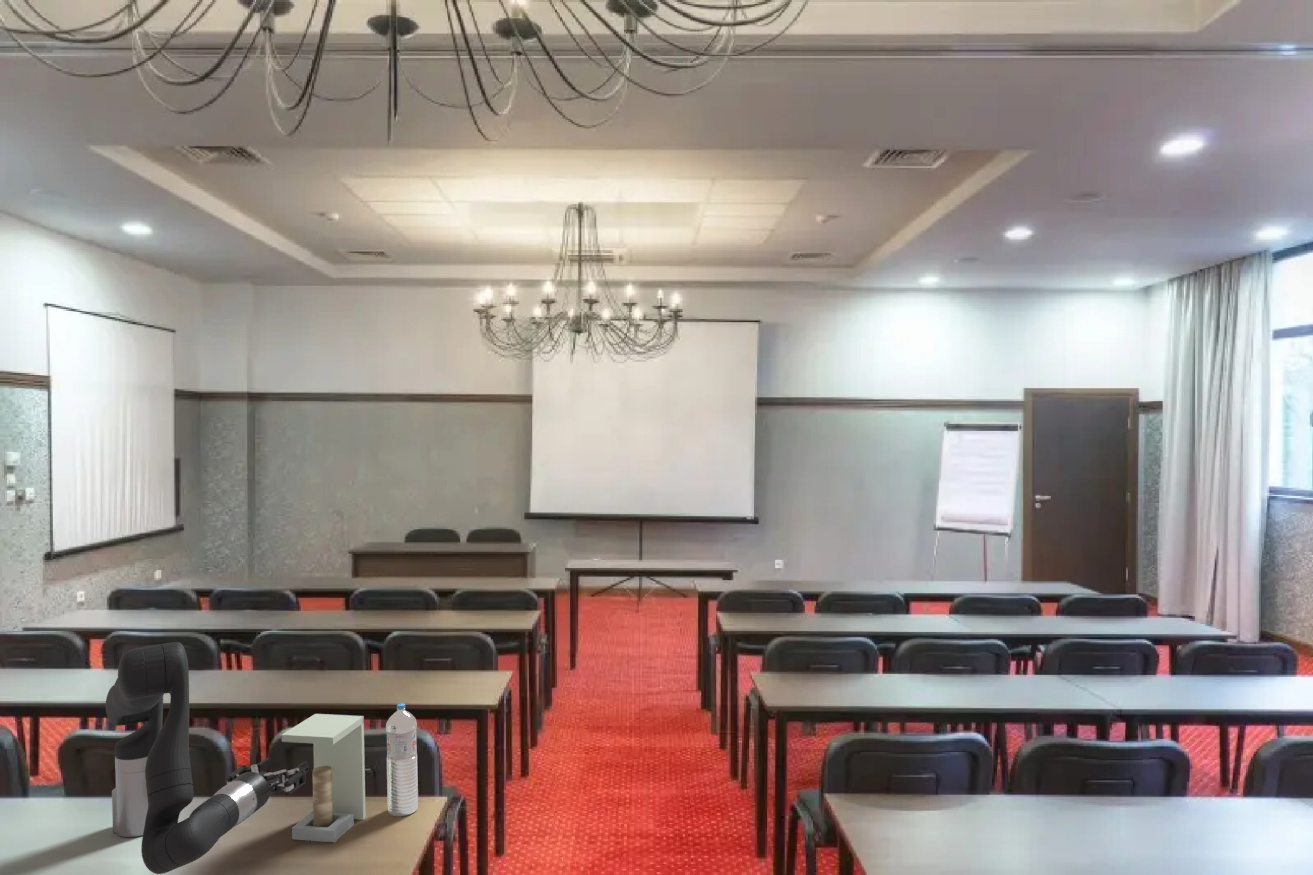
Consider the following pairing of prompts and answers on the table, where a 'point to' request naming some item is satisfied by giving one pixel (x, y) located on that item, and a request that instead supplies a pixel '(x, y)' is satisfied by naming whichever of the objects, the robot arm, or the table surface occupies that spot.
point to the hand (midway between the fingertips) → (287, 764)
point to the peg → (322, 796)
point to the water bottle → (402, 763)
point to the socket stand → (334, 770)
